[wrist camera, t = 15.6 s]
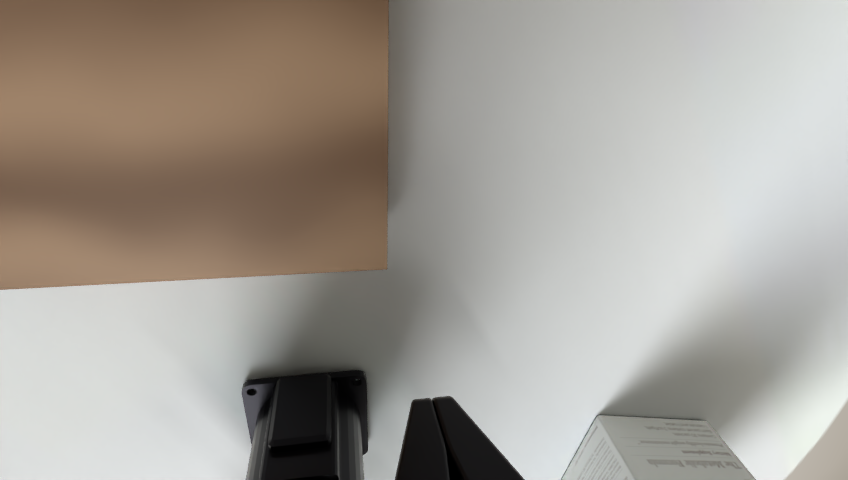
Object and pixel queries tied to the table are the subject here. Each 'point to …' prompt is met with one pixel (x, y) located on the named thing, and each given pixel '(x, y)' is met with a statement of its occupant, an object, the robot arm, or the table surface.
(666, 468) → the supplement box
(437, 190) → the table surface
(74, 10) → the tan bevelled block
